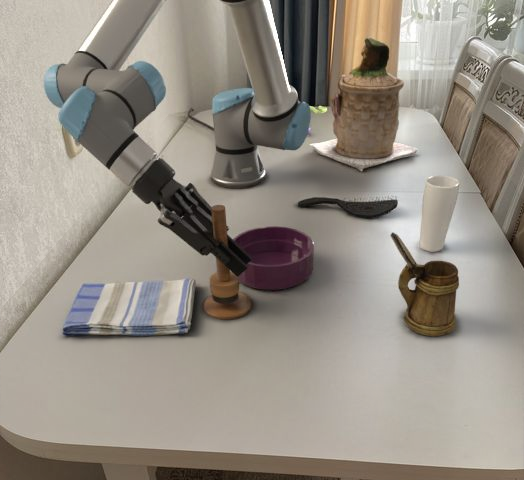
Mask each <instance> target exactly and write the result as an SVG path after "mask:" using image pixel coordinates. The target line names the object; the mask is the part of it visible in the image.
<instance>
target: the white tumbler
mask: <svg viewBox="0 0 524 480" xmlns="http://www.w3.org/2000/svg"><path fill="white" fill-rule="evenodd" d="M459 189H460V181H459V180H458V179H456V177H455V178H454V177H452V176H448V175H434V176H433V175H432V176H430V177H427V179H426V180H425V185H424V188H423V195H422V204H421V219H420V232H419V240H418V246H419V247H420V249H422V250H423V251H426V252H430V253H436V252H439V251H442V250H443V249H444V246H445V243H446V238H447V234H448V231H449V228H450V225H451V221H452V218H453V214H454V211H455V208H456V204H457V200H458V196H459V195H458V194H459Z"/></svg>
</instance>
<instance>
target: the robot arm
mask: <svg viewBox="0 0 524 480" xmlns="http://www.w3.org/2000/svg"><path fill="white" fill-rule="evenodd" d="M166 1H167V0H111V1H110V3H108V5H107V7H106V8H105V10H104V11H103V12H102V14H101V15H100V16H99V18H98V20H97V21H96V22H95V24H94V25H93V27H92V28H91V30H89V33H88V34H87V35H86V36H85V38H84V40H83V41H82V43H81V44H80V45H79V47H78V48H77V50H76V51H75V52H74V54H73V56H72V57H70V59H69V61H68V62H67V63H63V62H61V63H59V64H53V65H51V66H49V68H47V70H46V72H45V74H44V77H43V89H44V93H45V95H46V97H47V99H48V100H49V102H50V103H51V104H52V105H53V106H55V107H56V108H58V109H59V111H58V115H57V116H58V118H57V119H58V122H59V124H60V125H61V126H62V128H64V130H65V131H66V132H67V133H68V134H69V135H70V136H71V137H72V138H73V139H74V141H75V142H77V143H79V144H80V145H81V147H83V148H84V149H85V150H86V151H87V152H89V154H91V155H92V156H93V157H94V158H95V159H96V160H98V162H100V163H101V164H102V165H103V166H104V167H105V168H106V169H107V170H108V171H110V172H111V173H112V174H113V175H114V176H115V177H116V178H117V179H118V180H120V182H122V184H123V185H125V186H126V187H130V186H131V187H132V188H131V190H132V193H133V194H134V195H135V196H136V197H137V198H138V199H139V200H141V201H142V202H143V203H144V204H145V205H149V204H151V203H153V205H155V207H156V209H157V210H158V211H159V212H160V217H159V218H158V219H157V223H158V224H159V225H161V226H162V227H165V228H166V229H169V231H170V232H172V233H173V234H175V235H176V236H177V237H178V238H180V239H181V240H182V241H183V242H185V243H186V244H187V245H188V246H190V247H191V248H192V249H193V250H195V252H197V253H198V254H199V255H201V256H202V257H204V256H205V257H208V256H209V255H211V254H212V256H213V257H215V259H216V258H217V259H219V261H220V262H221V263H223V264H224V265H225V266H226V267H227V268H228V269H229V270H230V272H231V271H232V272H233V273H234V274H235V275H236V276H237V277H238V276H239V275H241V274H242V273H243V272H244V271H245V270H246V269H247V268H248V266H247V265H246V264H248V263H249V262H250V261H251V260H252V257H251V256H250V255H249V254H248V253H246V252H245V251H244V250H243V249H242V248H241V247H240V246H239V245H238V244H237V243H236V242H235V241H234V240H233V239H234V238H232V237H231V236H230V235H229V234H228V233H227V237H228V247H227V246H226V245H225V244H224V243H223V242H222V241H221V242H220V243H218V241H217V240H216V239H215V238H214V234H213V222H212V211H211V207H212V206H211V204H210V203H208V201H207V200H206V199H205V197H203V196H202V195H201V194H200V193H199V191H198V189H197V188H196V187H195V184H193V183H192V182H189V183H188V184H187V185H183V184H181V183H180V182H179V181H177V180H176V179H175V178H174V177H175V175H176V170H175V169H174V168H173V167H172V166H171V165H170V164H169V163H168V162H166V161H165V160H164V159H163V157H162V158H161V157H157V155H158V153H157V151H155V150H154V148H153V147H151V146H150V145H149V144H148V143H147V142H146V141H145V140H144V139H143V138H142V137H141V136H140V135H139V134H138V133H137V132H136V131H135V128H136V127H137V126H139V125H140V124H141V123H142V122H143V121H144V120H146V118H147V117H148V116H150V115H151V114H152V113H153V112H154V111H155V112H156V109H157V107H158V106H159V105H160V104H161V103H162V102H163V100H164V99H165V97H166V93H167V88H166V83H165V81H164V78H163V76H162V74H161V72H160V71H159V70H158V69H157V68H156V66H154V65H153V64H151V63H150V62H148V61H145V60H137V61H135V62H133V63H132V64H130V65H128V66H127V67H126V69H124V70H121V68H122V67H123V65H124V64H125V63H126V61H127V60H128V58H129V57H130V55H131V54H132V52H133V50H134V49H135V47H136V46H137V45H138V43H139V41H141V39H142V37H143V36H144V34H145V32H146V31H147V30H148V28H149V27H150V25H151V23H153V21H154V19H155V18H156V16H157V15H158V13H159V12H160V10H161V8H162V7H163V6H164V4H165V2H166ZM219 1H220V2H221V3H223V4H225V5H227V8H228V13H229V16H230V18H231V22H232V25H233V29H234V31H235V35H236V38H237V42H238V46H239V48H240V49H239V50H240V52H241V56H242V58H243V62H244V65H245V69H246V72H247V76H248V79H249V82H250V86H251V87H242V88H233V89H230V90H229V89H228V90H225V91H222V92H218V93H217V94H216V95H214V96H213V98H212V104H211V105H212V111H211V115H212V121H213V122H212V123H213V126H211V125H209V124H207V123H205V122H203V121H201V120H199V119H197V118H195V117H193V116H191V113H192V112H195V109H194V108H193V107H191V108H190V109H189V110H188V112H187V117H188V118H189V119H191V120H193V121H194V122H196V123H198V124H200V125H203V126H204V127H206V128H208V129H210V130H211V131H213V133H214V144H215V155H214V159H213V164H212V168H211V172H210V174H211V175H210V176H211V181H212V183H214V184H215V185H217V186H219V187H223V188H226V189H227V188H228V189H242V188H244V189H245V188H251V187H253V186H256V185H259V184H261V183H262V182H264V181H265V179H266V170H265V166H264V164H263V161H262V158H261V156H260V155H261V154H260V152H259V147H264V148H270V149H275V150H276V149H277V150H282V151H297V150H298V149H300V148H301V147H302V146H303V144H304V143H305V141H306V139H307V137H308V135H307V133H308V130H309V127H310V126H311V120H312V119H311V118H312V110H310V106H311V105H309V103H308V102H305V101H300V100H299V96H298V92H297V90H296V88H295V87H294V86H292V85H291V84H289V80H288V76H287V72H286V67H285V63H284V59H283V54H282V51H281V45H280V42H279V38H278V37H279V36H278V33H277V29H276V24H275V21H274V15H273V11H272V7H271V3H270V0H219ZM258 146H259V147H258ZM229 230H230V227H229V225H227V232H228V231H229Z"/></svg>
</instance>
